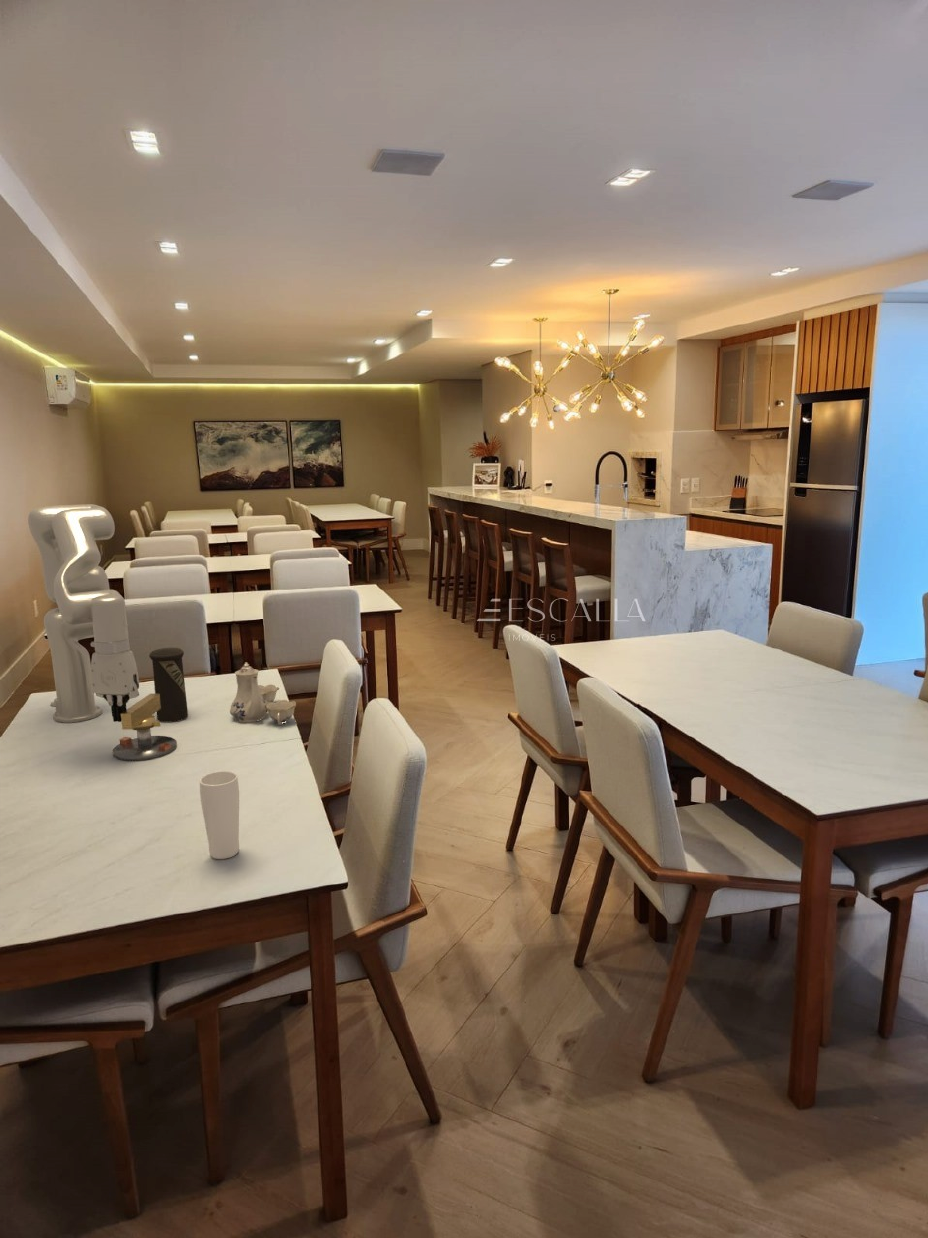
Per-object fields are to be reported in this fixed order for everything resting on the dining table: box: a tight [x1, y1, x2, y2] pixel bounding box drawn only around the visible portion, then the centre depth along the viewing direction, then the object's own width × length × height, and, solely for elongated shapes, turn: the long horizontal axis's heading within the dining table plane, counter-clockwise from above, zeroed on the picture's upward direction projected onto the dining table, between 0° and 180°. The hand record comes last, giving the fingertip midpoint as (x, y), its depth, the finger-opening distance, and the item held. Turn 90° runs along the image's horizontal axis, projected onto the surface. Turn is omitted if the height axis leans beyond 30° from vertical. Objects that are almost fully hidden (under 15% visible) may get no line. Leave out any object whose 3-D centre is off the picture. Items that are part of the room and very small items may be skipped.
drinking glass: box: [199, 770, 240, 860], centre depth 147 cm, size 7×7×15 cm
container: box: [148, 647, 189, 723], centre depth 222 cm, size 9×9×20 cm
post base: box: [112, 728, 178, 762], centre depth 200 cm, size 15×15×6 cm
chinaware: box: [229, 662, 297, 725], centre depth 224 cm, size 28×17×17 cm, turn 35°
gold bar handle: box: [121, 693, 161, 731], centre depth 198 cm, size 9×16×6 cm, turn 177°
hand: (120, 719), depth 193 cm, fingers closed
